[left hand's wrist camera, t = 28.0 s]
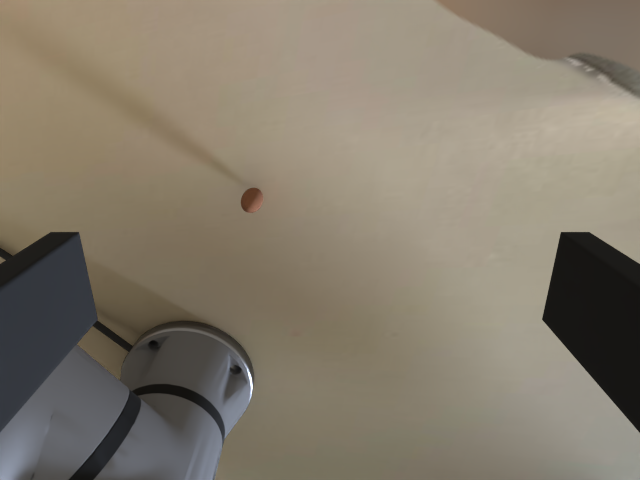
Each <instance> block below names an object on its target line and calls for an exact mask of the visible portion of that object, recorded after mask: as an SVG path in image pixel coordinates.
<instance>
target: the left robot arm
mask: <svg viewBox="0 0 640 480" xmlns="http://www.w3.org/2000/svg"><path fill="white" fill-rule="evenodd" d="M0 257H2V258H3V259H5V260H6V261H4V262H3V263H1V264H0V480H214V479H215V475H216V471H217V467H218V463H219V459H220V455H221V451H222V447H223V443H224V439H225V438H226V436H227V435H228V434H229V432H230V431H231V430H232V428H233V427H234V425H235V424H236V423H237V421H238V420H239V419H240V417H241V416H242V415H243V413H244V412H245V410H246V409H247V407H248V405H249V402H250V399H251V395H252V390H253V385H254V372H253V367H252V364H251V361H250V359H249V357H248V355H247V354H246V352H245V351H244V349H243V348H242V347H241V346H240V344H239V343H237V342H236V341H235V340H234V339H233V338H232V337H231V336H229V335H228V334H226V333H224V332H223V331H221V330H219V329H217V328H214V327H212V326H209V325H206V324H202V323H197V322H189V321H179V322H171V323H166V324H162V325H159V326H157V327H155V328H153V329H151V330H149V331H147V332H146V333H145V334H143V335H142V336H141V337H140V338H139V339H138V340H137V341H136V343H135V344H134V345H133V346H132V345H130V344H129V343H128V342H126V341H125V340H123V339H122V338H121V337H119V336H118V335H116V334H115V333H114V332H112V331H111V330H110V329H108V328H107V327H105V326H104V325H103V324H101V323H100V322H99V321H97V320H98V318H97V314H96V309H95V304H94V300H93V295H92V290H91V286H90V281H89V276H88V272H87V267H86V263H85V258H84V253H83V249H82V244H81V239H80V235H79V232H50V233H49V234H47V235H46V236H44V237H42V238H41V239H39V240H38V241H36V242H35V243H33V244H31V245H30V246H28V247H27V248H25V249H23V250H22V251H20V252H19V253H17V254H16V255H14V256H12V255H10V254H9V253H7V252H6V251H4V250H3V249H1V248H0ZM542 320H543V321H544V322H545V323H546V324H547V326H548V327H549V328H550V329H551V330H552V331H553V333H554V334H555V335H556V336H557V337H558V338H559V340H560V341H561V342H562V343H563V344H564V345H565V346H566V348H567V349H568V350H569V351H570V352H571V353H572V355H573V356H574V357H575V358H576V359H577V360H578V362H579V363H580V364H581V365H582V366H583V367H584V368H585V370H586V371H587V372H588V373H589V374H590V375H591V377H592V378H593V379H594V380H595V381H596V382H597V384H598V385H599V386H600V387H601V388H602V389H603V390H604V392H605V393H606V394H607V395H608V396H609V397H610V399H611V400H612V401H613V402H614V403H615V404H616V406H617V407H618V408H619V409H620V410H621V411H622V412H623V414H624V415H625V416H626V417H627V418H628V419H629V421H630V422H631V423H632V424H633V425H634V426H635V428H636V429H637V430H638V431H639V432H640V264H639V263H637V262H636V261H634V260H632V259H631V258H629V257H628V256H626V255H624V254H623V253H621V252H620V251H618V250H617V249H615V248H613V247H612V246H610V245H609V244H607V243H605V242H604V241H602V240H601V239H599V238H598V237H596V236H594V235H593V234H591V233H590V232H561V235H560V239H559V244H558V249H557V253H556V258H555V263H554V267H553V272H552V276H551V281H550V286H549V290H548V295H547V300H546V304H545V309H544V314H543V318H542ZM92 326H94V327H95V328H97V329H98V330H99V331H101V332H102V333H103V334H105V335H106V336H108V337H109V338H110V339H112V340H113V341H115V342H116V343H117V344H119V345H120V346H121V347H123V348H124V349H126V350H127V351H128V352H129V353H128V355H127V356H126V358H125V360H124V362H123V365H122V370H121V378H120V381H119V380H118V379H117V378H116V377H115V376H113V375H112V374H111V373H110V372H109V371H107V370H106V369H105V368H104V367H103V366H101V365H100V364H99V363H98V362H97V361H96V360H94V359H93V358H92V357H91V356H90V355H89V354H87V353H86V352H85V351H84V350H83V349H82V348H80V347H79V346H78V345H77V343H78V342H79V341H80V340H81V338H82V337H83V336H84V335H85V334H86V333H87V331H88V330H89V329H90V328H91V327H92Z"/></svg>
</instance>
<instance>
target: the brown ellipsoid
mask: <svg viewBox="0 0 640 480" xmlns="http://www.w3.org/2000/svg"><path fill="white" fill-rule="evenodd" d="M262 203H263V194H262V192H261V191H260V190H259V189H257V188H250V189H248V190H247V191H246V192H245V193H244V194H243V196H242V199H241V206H242V208H243V210H244V211H246V212H248V213H253V212H255V211H257V210H258V209H259V208H260V207H261V205H262Z"/></svg>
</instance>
